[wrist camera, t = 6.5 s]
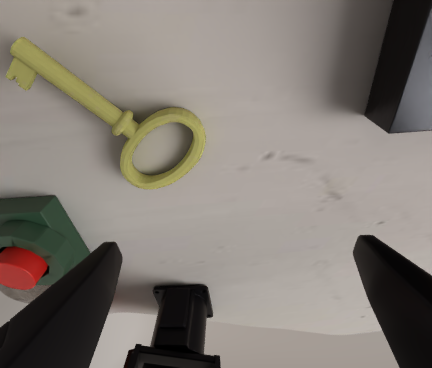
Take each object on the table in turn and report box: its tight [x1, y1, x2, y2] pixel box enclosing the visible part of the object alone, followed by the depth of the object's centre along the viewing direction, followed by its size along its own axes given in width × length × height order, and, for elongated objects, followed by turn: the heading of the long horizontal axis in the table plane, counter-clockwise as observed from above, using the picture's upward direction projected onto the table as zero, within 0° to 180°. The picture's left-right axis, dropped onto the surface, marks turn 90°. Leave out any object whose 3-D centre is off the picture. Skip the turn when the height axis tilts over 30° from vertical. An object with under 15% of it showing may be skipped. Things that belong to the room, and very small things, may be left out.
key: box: [6, 37, 206, 189], centre depth 16 cm, size 7×12×2 cm, turn 63°
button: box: [0, 246, 48, 290], centre depth 20 cm, size 4×4×2 cm
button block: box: [0, 196, 90, 285], centre depth 22 cm, size 10×8×4 cm
